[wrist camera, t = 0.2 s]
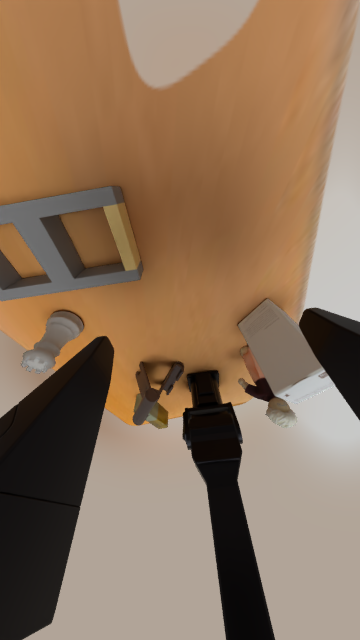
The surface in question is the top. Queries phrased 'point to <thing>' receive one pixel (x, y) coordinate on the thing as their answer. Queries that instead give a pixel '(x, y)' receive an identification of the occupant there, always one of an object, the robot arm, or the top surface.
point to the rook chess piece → (52, 341)
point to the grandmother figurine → (266, 392)
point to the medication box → (155, 414)
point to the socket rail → (67, 244)
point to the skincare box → (283, 354)
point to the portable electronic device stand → (153, 390)
